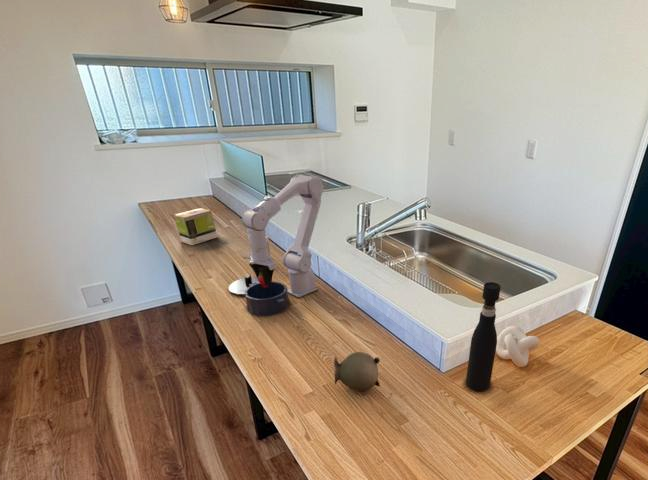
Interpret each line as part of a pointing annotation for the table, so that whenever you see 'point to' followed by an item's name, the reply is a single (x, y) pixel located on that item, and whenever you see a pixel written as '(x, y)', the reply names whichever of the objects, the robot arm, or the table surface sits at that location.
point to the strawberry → (261, 280)
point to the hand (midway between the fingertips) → (265, 282)
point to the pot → (266, 298)
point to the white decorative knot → (516, 345)
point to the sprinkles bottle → (268, 246)
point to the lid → (242, 285)
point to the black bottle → (483, 342)
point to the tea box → (195, 226)
